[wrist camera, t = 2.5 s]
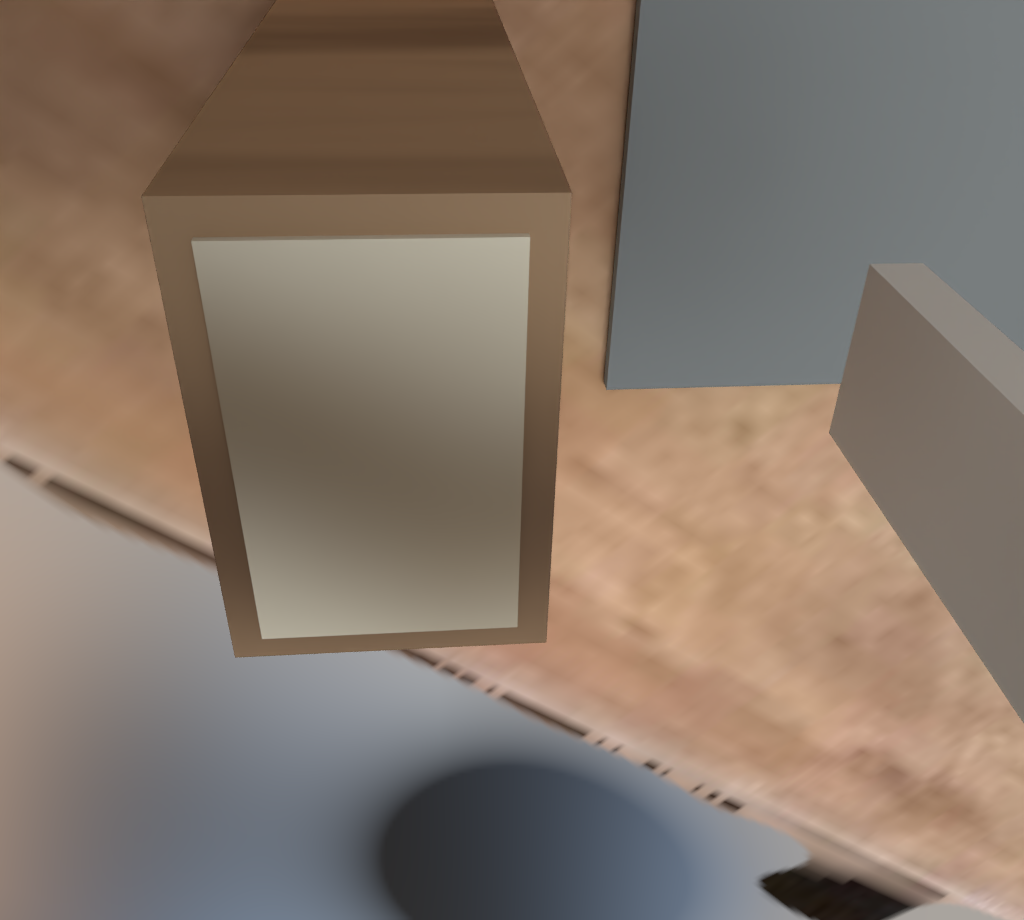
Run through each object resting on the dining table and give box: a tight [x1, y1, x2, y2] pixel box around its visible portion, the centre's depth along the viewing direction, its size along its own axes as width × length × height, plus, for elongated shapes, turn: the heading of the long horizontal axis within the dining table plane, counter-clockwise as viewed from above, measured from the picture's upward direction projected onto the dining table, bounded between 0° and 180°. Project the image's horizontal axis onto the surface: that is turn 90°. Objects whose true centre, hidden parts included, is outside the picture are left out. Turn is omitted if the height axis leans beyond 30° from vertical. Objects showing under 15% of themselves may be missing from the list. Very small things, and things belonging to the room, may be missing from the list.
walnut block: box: [141, 0, 572, 657], centre depth 16 cm, size 6×4×12 cm, turn 179°
